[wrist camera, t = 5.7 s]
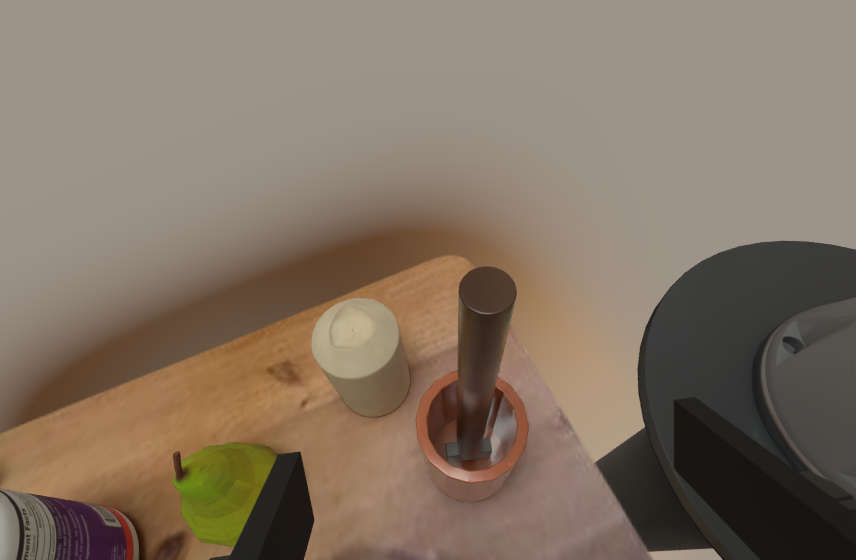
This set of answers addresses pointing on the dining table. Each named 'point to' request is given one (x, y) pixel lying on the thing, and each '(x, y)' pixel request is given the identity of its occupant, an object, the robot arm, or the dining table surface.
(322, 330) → the candle
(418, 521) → the dining table surface
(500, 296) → the stirring stick
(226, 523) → the fruit
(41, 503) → the pill bottle
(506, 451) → the crock
